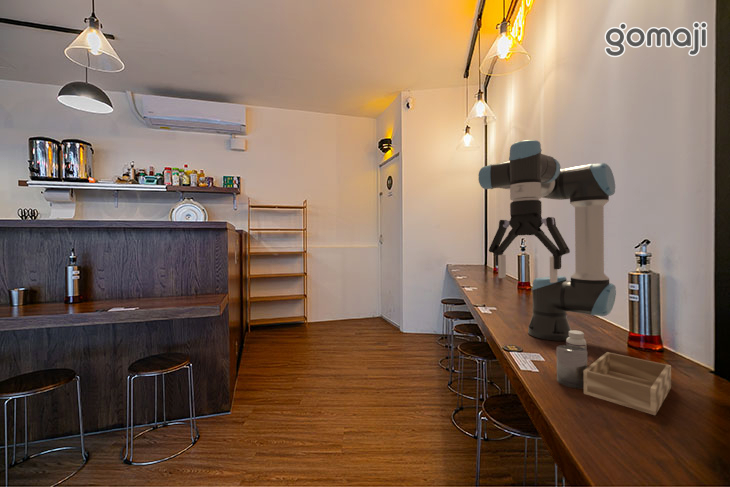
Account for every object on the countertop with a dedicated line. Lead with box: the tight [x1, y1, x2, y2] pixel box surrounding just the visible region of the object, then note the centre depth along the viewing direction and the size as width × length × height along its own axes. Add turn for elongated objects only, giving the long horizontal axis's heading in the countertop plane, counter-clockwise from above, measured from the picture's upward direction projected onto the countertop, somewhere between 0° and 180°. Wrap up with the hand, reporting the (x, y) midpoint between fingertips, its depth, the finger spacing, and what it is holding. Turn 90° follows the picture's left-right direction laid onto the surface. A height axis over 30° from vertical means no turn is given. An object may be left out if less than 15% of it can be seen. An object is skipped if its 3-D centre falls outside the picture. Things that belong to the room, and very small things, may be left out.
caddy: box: [583, 351, 672, 416], centre depth 83 cm, size 20×14×6 cm
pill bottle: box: [565, 329, 588, 351], centre depth 102 cm, size 5×5×10 cm
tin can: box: [556, 344, 588, 389], centre depth 88 cm, size 7×7×9 cm
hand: (526, 279), depth 88 cm, fingers open, 13 cm apart
